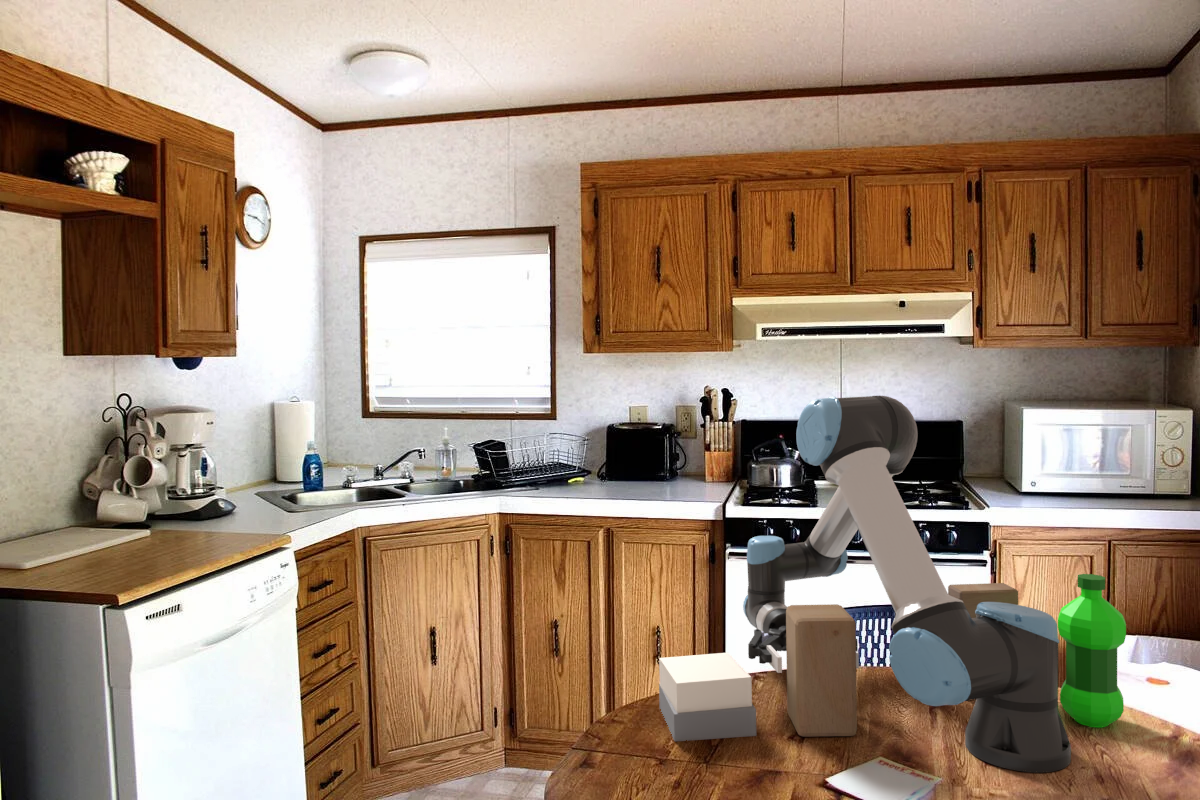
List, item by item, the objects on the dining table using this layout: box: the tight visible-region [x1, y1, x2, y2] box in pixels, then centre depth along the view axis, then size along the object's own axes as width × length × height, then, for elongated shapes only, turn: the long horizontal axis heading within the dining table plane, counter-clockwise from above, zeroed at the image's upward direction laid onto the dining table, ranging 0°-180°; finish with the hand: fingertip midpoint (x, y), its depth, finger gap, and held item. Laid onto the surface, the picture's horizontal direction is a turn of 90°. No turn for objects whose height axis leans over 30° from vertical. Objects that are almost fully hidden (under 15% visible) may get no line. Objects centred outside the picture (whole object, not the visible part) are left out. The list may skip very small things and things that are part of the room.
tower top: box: [658, 652, 753, 713], centre depth 152 cm, size 13×13×5 cm
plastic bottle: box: [1057, 573, 1127, 729], centre depth 148 cm, size 10×10×25 cm
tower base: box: [658, 683, 757, 742], centre depth 152 cm, size 14×14×5 cm
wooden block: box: [786, 603, 858, 738], centre depth 149 cm, size 10×10×20 cm
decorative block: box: [947, 582, 1019, 618], centre depth 162 cm, size 11×6×20 cm, turn 91°
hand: (818, 663), depth 149 cm, fingers open, 13 cm apart
